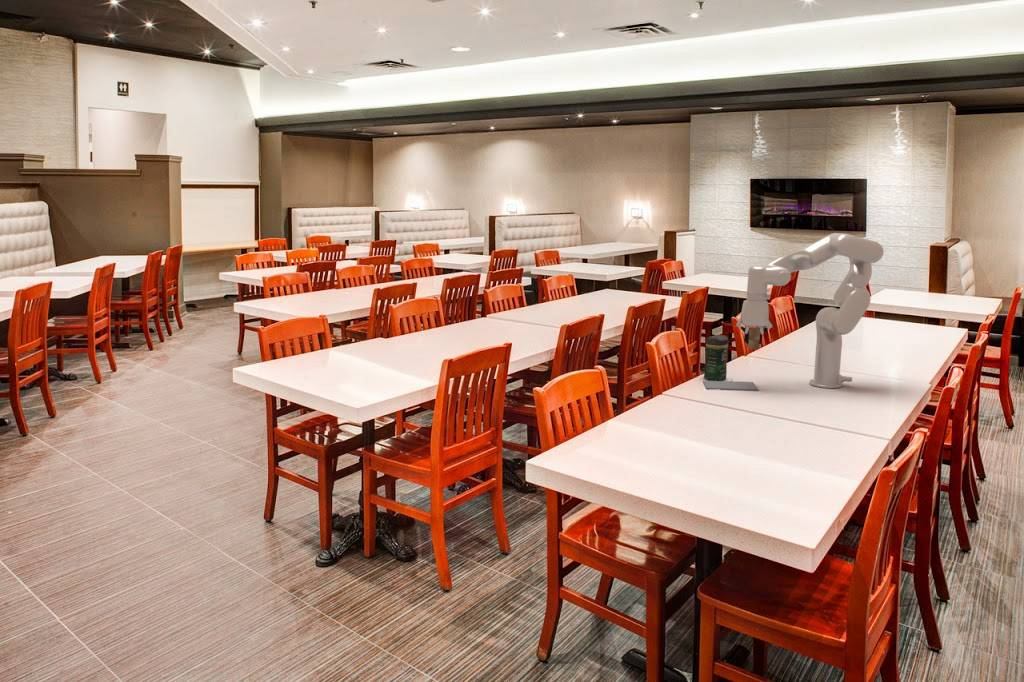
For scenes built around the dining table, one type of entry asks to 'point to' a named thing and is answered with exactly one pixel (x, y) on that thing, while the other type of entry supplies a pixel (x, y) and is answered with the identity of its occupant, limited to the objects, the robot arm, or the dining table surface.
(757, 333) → the walnut block
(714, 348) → the coffee jar
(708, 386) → the rubber mat
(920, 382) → the dining table surface
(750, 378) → the dining table surface
